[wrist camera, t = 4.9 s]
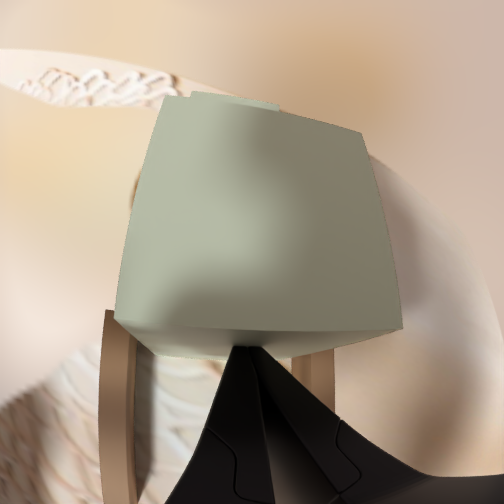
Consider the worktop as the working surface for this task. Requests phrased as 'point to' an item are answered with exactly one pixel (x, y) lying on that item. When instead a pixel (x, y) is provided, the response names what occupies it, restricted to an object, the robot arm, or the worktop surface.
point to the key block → (254, 235)
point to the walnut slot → (123, 394)
